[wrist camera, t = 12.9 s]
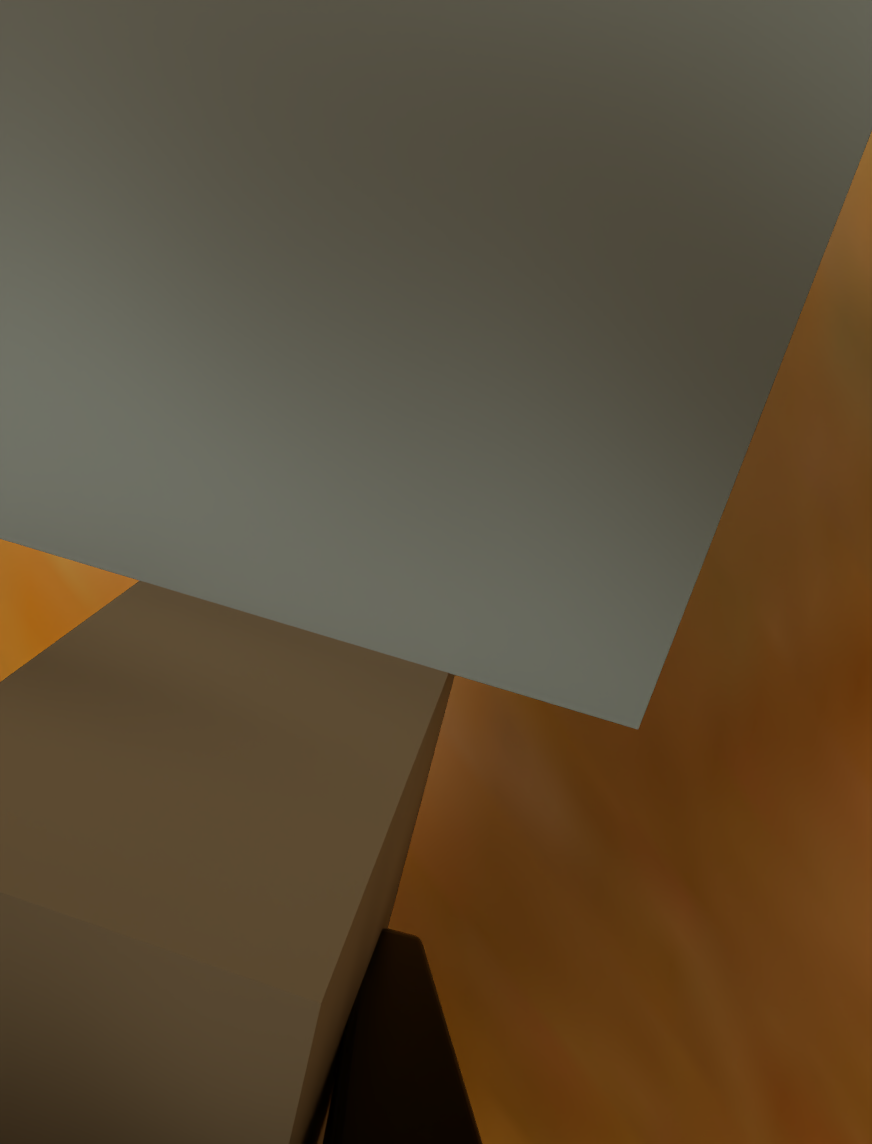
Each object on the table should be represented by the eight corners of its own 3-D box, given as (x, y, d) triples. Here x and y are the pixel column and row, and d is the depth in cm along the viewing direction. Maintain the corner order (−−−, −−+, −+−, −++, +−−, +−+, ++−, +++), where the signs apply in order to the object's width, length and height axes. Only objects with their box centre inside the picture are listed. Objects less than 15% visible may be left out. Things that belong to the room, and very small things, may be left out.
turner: (457, 1144, 10) (365, 1661, 6) (41, 995, 11) (-260, 1393, 7) (969, -227, 5) (2274, -1939, 1) (62, -384, 5) (-1252, -1834, 2)
